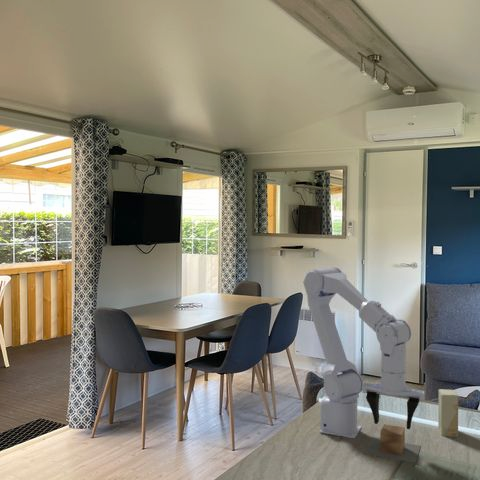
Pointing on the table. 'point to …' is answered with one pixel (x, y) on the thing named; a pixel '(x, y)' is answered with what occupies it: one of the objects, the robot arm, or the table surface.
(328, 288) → the robot arm
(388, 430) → the cube
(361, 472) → the table surface
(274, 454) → the table surface
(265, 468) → the table surface
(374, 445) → the mat
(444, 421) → the box
